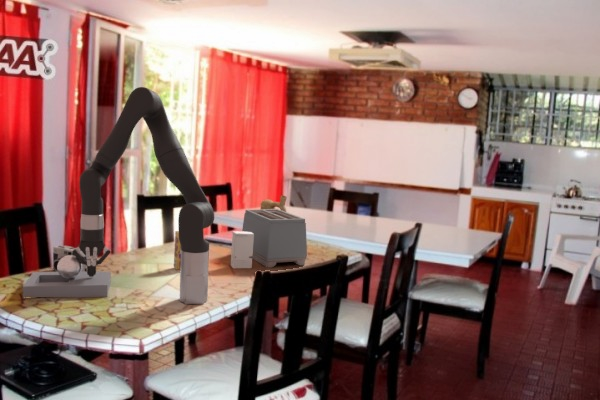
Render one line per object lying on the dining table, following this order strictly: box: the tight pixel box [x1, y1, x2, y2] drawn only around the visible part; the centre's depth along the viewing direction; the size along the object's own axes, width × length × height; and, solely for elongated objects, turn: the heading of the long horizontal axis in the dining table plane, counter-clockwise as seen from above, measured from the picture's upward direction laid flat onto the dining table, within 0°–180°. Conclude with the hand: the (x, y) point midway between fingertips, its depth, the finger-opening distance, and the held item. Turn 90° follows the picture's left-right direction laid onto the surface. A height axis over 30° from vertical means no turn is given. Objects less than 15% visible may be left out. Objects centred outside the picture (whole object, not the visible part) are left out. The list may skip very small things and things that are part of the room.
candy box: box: [173, 230, 181, 271], centre depth 236 cm, size 9×4×15 cm, turn 123°
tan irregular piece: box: [260, 195, 288, 212], centre depth 295 cm, size 17×20×25 cm
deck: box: [22, 270, 112, 299], centre depth 200 cm, size 18×26×4 cm
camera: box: [52, 245, 87, 272], centre depth 220 cm, size 14×9×10 cm, turn 57°
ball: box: [57, 255, 82, 279], centre depth 199 cm, size 8×8×8 cm
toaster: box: [241, 208, 308, 269], centre depth 262 cm, size 19×35×20 cm, turn 28°
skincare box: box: [230, 230, 254, 270], centre depth 243 cm, size 8×6×15 cm
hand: (91, 275), depth 202 cm, fingers closed
